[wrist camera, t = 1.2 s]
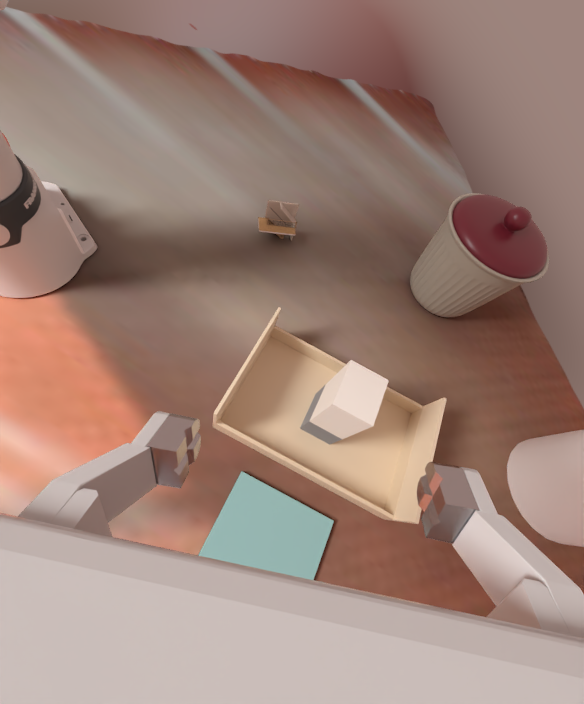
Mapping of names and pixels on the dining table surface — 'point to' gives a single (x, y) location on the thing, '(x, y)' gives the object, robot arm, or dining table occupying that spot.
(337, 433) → the box
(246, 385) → the beige open box
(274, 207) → the architectural model
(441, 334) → the dining table surface
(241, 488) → the mat
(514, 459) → the canister
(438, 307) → the canister
